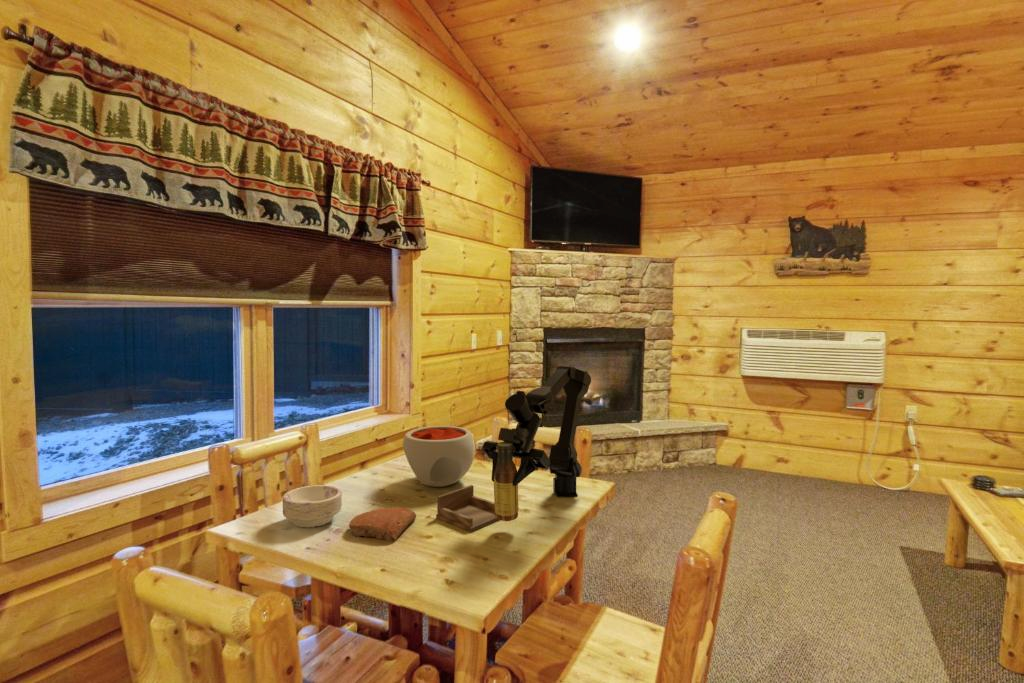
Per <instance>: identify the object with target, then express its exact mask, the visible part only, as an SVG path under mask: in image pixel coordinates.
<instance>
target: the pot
mask: <svg viewBox="0 0 1024 683" xmlns="http://www.w3.org/2000/svg"><path fill="white" fill-rule="evenodd" d="M402 448H403V452H404V455H405V457H406V460H407V463H408V464H409V467H410V469H411V470H412V472H413V473H414V475H415V477H416V479H418V482H420V483H421V485H422V484H423V485H425V486H428V487H432V488H434V487H435V488H441V487H447V486H450V485H452V484H455V483H456V482H458V481H459V480H462V478H463V477H464V476H465V475H466V474H467V473H468V471H469V470H470V468H471V467H472V464H473V463H474V459H475V454H476V445H475V440H474V436H473V433H472V432H471V431H470V430H469V429H468V428H464V427H460V426H452V425H431V426H425V427H424V426H423V427H419V428H415V429H412V430H409V431H408V432H406V433H405V435H404V438H403V440H402Z"/></svg>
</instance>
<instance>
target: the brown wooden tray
mask: <svg viewBox="0 0 1024 683" xmlns="http://www.w3.org/2000/svg"><path fill="white" fill-rule="evenodd" d="M436 499H437V502H436V503H437V514H435V518H436V519H437V520H440V521H443V522H444V523H448V524H450V525H453V526H455V527H456V528H460V529H462V530H465V531H467V532H469V533H473V532H475V531H478V530H480V529H482V528H484V527H486V526H489V525H491V524H493V523H495V522H498V521H500V520H499V519H497V518H496V516H495V503H494V501H491V500H488V499H485V498H482V497H479V496H476V495H474V485H473V484H469V485H467V486H464V487H461V488H457V489H455V490H453V491H452V490H451V491H448V492H447V493H443V494H441V495H437V497H436Z"/></svg>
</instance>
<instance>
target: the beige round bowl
mask: <svg viewBox="0 0 1024 683" xmlns="http://www.w3.org/2000/svg"><path fill="white" fill-rule="evenodd" d="M342 492H343V491H342V490H341V489H340V488H339V487H337V486H334V485H325V484H323V485H322V484H321V485H320V484H317V485H315V484H314V485H307V486H300V487H298V488H293V489H291V490H288V491H287V492H286V493H285V494H283V496H282V515H283V517H285V519H288V520H290V522H292V524H293V525H294V526H296V527H298V526H299V527H298V528H303V527H312V528H316V527H315V526H318V527H321V526H320V525H322V526H324V525H327V524H328V523H330V522H331V521H332V520H333V519H334V517H335V516H336V515H337V514H339V513H340V512H341V510H342V506H343V502H342V500H343V497H342V496H343V493H342ZM326 523H327V524H326ZM323 524H324V525H323Z"/></svg>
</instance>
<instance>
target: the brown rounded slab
mask: <svg viewBox="0 0 1024 683" xmlns="http://www.w3.org/2000/svg"><path fill="white" fill-rule="evenodd" d="M416 518H417V514H416V513H415V511H413V510H411V509H408V508H405V507H382V508H377V509H372V510H370V511H366V512H363V513H360V514H358V515H355V516H354V517H353V518H352V519H351V520H350V522H349V524H348V528H349V529H350V530H351V531H352V533H353V535H354V536H355V535H356V536H364V537H363V538H366V537H367V538H368V537H371V538H372V537H373V538H376V539H378V540H383V539H385V540H384V541H387V540H388V541H387V542H390V541H395V542H396V540H397V539H398V537H399V536H400V535H401V534H402V533H403V531H404V530H405V529H407V528H408V526H409V525H410V524H412V523H413V522H415V520H416ZM356 536H355V537H356Z"/></svg>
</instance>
